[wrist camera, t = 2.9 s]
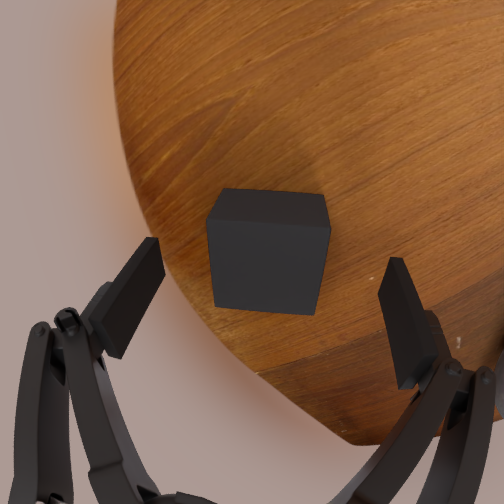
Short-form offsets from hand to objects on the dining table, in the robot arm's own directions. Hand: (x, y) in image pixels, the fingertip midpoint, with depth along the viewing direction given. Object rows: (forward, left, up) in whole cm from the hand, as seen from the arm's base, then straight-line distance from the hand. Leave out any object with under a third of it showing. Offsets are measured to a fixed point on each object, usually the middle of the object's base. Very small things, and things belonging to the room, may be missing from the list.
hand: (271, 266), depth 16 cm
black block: (0, 0, -3) cm, 3 cm away
